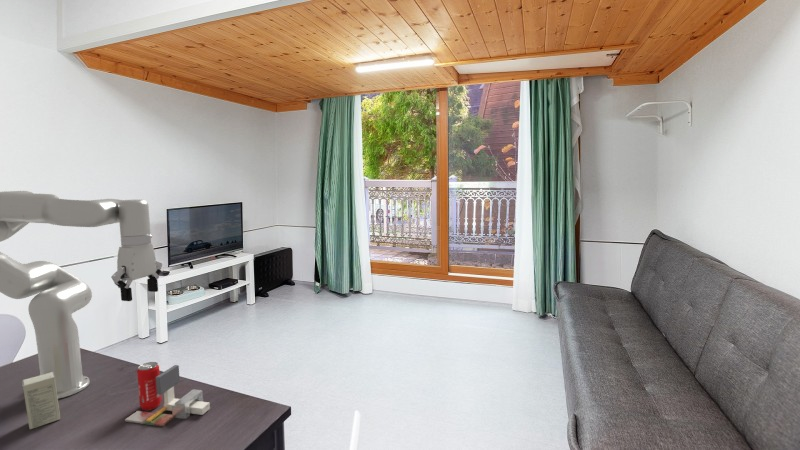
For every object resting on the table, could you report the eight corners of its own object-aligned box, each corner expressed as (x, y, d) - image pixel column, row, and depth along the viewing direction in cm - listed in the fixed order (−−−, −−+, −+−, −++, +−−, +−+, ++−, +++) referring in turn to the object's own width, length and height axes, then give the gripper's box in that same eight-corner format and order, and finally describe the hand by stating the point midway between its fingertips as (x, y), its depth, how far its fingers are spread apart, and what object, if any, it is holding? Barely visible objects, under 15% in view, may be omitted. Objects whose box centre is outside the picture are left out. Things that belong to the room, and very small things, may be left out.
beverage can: (151, 412, 108) (148, 371, 107) (135, 410, 110) (132, 369, 108) (166, 401, 114) (163, 362, 112) (150, 399, 115) (147, 360, 113)
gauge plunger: (146, 423, 103) (143, 384, 102) (177, 400, 114) (174, 365, 113) (187, 428, 101) (184, 389, 100) (214, 404, 112) (212, 368, 110)
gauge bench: (124, 421, 104) (123, 406, 104) (157, 398, 115) (156, 385, 115) (174, 428, 102) (173, 412, 101) (203, 404, 112) (202, 390, 112)
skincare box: (59, 412, 108) (54, 370, 107) (60, 419, 105) (56, 376, 104) (27, 423, 104) (22, 379, 102) (27, 430, 100) (22, 385, 99)
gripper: (148, 236, 127) (152, 287, 130) (99, 245, 111) (104, 304, 113) (168, 236, 126) (172, 288, 128) (121, 246, 109) (126, 305, 111)
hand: (140, 295), depth 120 cm, fingers open, 9 cm apart
